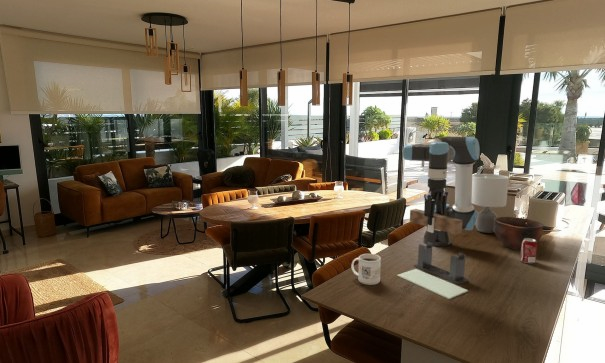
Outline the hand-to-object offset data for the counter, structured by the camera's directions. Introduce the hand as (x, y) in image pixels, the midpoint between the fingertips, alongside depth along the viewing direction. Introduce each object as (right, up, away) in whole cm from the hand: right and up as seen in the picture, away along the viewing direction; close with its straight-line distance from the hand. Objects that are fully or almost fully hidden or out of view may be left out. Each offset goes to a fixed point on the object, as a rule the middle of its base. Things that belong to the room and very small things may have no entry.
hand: (434, 230), depth 167 cm
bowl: (+66, -16, +53) cm, 86 cm away
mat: (0, -24, +4) cm, 24 cm away
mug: (-28, -24, +8) cm, 38 cm away
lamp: (+62, -11, +81) cm, 103 cm away
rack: (+8, -22, +15) cm, 28 cm away
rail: (0, +2, 0) cm, 2 cm away
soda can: (+59, -20, +29) cm, 68 cm away
